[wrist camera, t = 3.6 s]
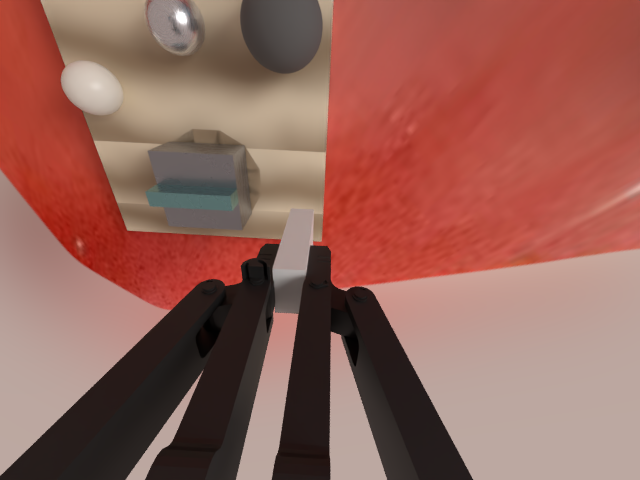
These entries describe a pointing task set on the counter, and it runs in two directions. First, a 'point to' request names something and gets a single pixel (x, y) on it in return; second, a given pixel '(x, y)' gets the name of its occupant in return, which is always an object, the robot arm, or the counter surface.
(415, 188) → the counter surface
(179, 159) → the cover
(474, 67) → the counter surface
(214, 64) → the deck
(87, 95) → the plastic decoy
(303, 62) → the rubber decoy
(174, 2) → the steel ball
